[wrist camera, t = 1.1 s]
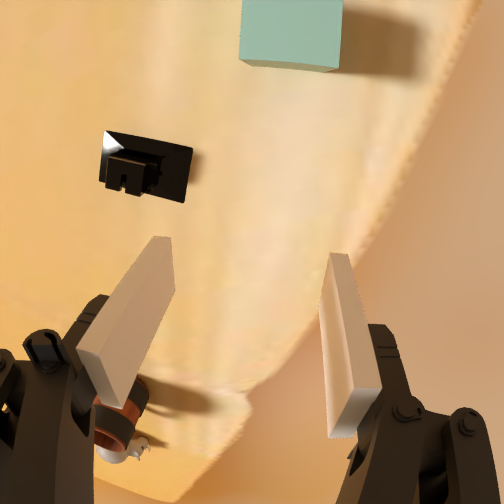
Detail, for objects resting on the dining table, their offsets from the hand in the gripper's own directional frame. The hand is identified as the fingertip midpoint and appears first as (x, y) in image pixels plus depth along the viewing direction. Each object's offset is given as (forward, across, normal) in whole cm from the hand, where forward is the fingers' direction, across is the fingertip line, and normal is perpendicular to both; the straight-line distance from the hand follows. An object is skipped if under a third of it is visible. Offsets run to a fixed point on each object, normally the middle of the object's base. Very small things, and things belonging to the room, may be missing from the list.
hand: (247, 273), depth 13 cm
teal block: (+17, +1, +12) cm, 21 cm away
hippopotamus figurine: (+17, -26, -57) cm, 65 cm away
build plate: (+18, -12, 0) cm, 21 cm away
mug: (+17, -21, -38) cm, 47 cm away
